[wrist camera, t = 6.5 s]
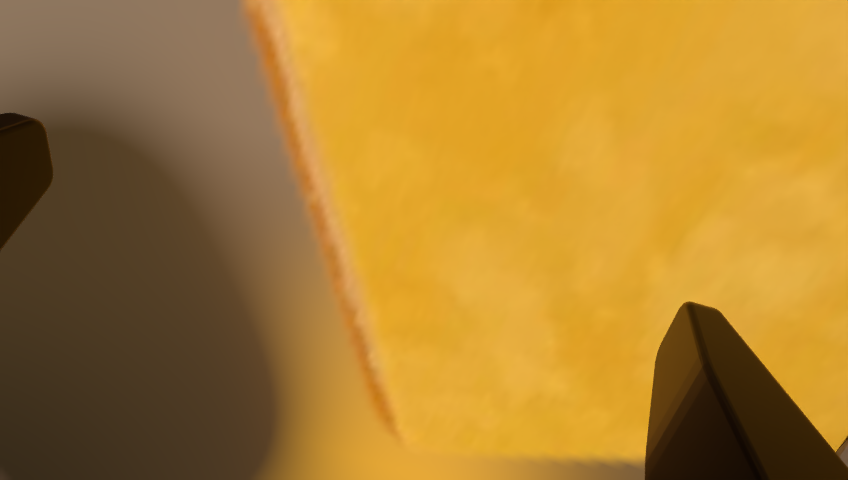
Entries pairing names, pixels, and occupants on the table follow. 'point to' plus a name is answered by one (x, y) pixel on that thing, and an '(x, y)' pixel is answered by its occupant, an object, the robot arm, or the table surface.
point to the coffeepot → (843, 452)
